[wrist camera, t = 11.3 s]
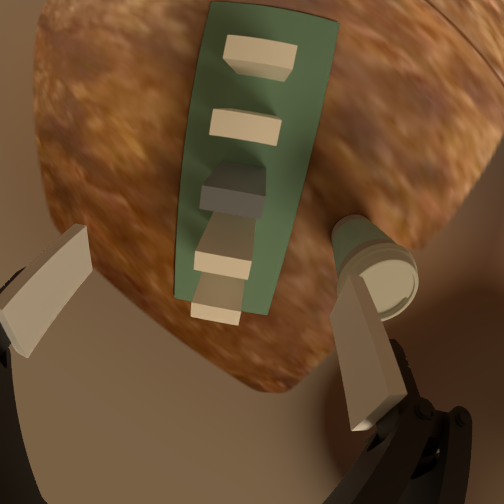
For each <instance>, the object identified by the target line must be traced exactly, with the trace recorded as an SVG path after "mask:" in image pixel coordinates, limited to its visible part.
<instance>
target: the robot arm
mask: <svg viewBox="0 0 504 504" xmlns="http://www.w3.org/2000/svg"><path fill="white" fill-rule="evenodd" d="M91 272H92V264H91V258H90V251H89V244H88V236H87V227H86V226H85V225H80V224H74V225H73V226H72V227H71V228H69V229H68V230H67V231H66V232H65V233H63V234H62V235H61V236H60V237H59V238H58V239H56V240H55V241H54V242H53V243H52V244H51V245H49V246H48V247H47V248H46V249H45V250H44V251H43V252H42V253H41V254H40V255H39V256H37V257H36V258H35V259H34V260H33V261H32V262H31V263H30V264H29V265H28V266H27V267H25V268H23V269H21V270H19V271H18V272H16V273H15V274H14V275H13V276H12V277H11V278H10V280H8V281H7V282H6V283H5V286H3V287H2V288H1V289H0V504H47V502H45V501H44V499H43V498H42V496H41V494H40V491H39V489H38V486H37V484H36V481H35V478H34V475H33V473H32V469H31V466H30V463H29V460H28V456H27V453H26V449H25V446H24V442H23V438H22V434H21V429H20V424H19V420H18V414H17V409H16V402H15V396H14V388H13V380H12V368H11V354H10V349H9V348H8V347H9V345H10V344H12V345H13V347H14V349H15V350H16V352H18V353H19V354H21V355H23V356H24V357H26V358H28V357H29V356H30V354H31V352H32V351H33V349H34V348H35V346H36V345H37V343H38V342H39V340H40V339H41V337H42V336H43V334H44V333H45V331H46V330H47V329H48V327H49V326H50V324H51V323H52V321H53V320H54V319H55V318H56V316H57V315H58V313H59V312H60V311H61V309H62V308H63V307H64V305H65V304H66V303H67V302H68V300H69V299H70V298H71V296H72V295H73V294H74V293H75V291H76V290H77V289H78V287H79V286H80V285H81V283H83V281H84V280H85V279H86V277H87V276H88V275H89V274H90V273H91ZM330 320H331V325H332V329H333V334H334V339H335V343H336V348H337V353H338V358H339V363H340V368H341V373H342V379H343V384H344V389H345V395H346V401H347V407H348V413H349V420H350V426H351V431H357V430H368V429H370V428H371V427H372V426H373V425H374V424H376V426H377V431H375V432H374V433H373V434H372V435H370V436H369V437H368V438H367V439H366V440H365V441H364V442H367V441H369V442H368V443H367V445H366V446H365V448H364V450H363V451H362V453H361V454H360V455H359V457H358V459H357V460H356V461H355V463H354V464H353V466H352V467H351V468H350V470H349V471H348V473H347V474H346V475H345V477H344V478H343V479H342V480H341V482H340V483H339V484H338V486H337V487H336V488H335V489H334V491H333V492H332V493H331V494H330V495H329V497H328V498H327V499H326V500H325V501H324V503H323V504H464V502H465V497H466V491H467V485H468V478H469V470H470V459H471V445H472V419H471V416H470V413H469V412H468V411H467V410H466V409H465V408H464V407H461V406H457V407H454V408H453V409H452V410H451V411H450V412H448V413H447V412H442V411H438V410H435V408H434V407H433V405H432V403H431V402H429V401H428V400H427V399H425V398H423V397H420V395H419V392H418V389H417V386H416V383H415V380H414V377H413V375H412V372H411V369H410V368H409V364H408V361H407V360H406V356H405V353H404V351H403V348H402V347H401V346H400V345H399V343H398V342H397V341H396V340H395V339H388V336H387V334H386V331H385V329H384V326H383V324H382V321H381V319H380V316H379V314H378V311H377V309H376V307H375V304H374V302H373V299H372V297H371V295H370V293H369V290H368V288H367V286H366V283H365V281H364V279H363V277H360V276H355V275H348V277H347V280H346V282H345V284H344V286H343V289H342V291H341V293H340V295H339V297H338V300H337V302H336V304H335V306H334V308H333V310H332V312H331V315H330ZM438 452H439V456H438Z"/></svg>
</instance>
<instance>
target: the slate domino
mask: <svg viewBox="0 0 504 504" xmlns="http://www.w3.org/2000/svg"><path fill="white" fill-rule="evenodd" d="M265 197H266V168H262V167H257V166H251V165H246V164H240V163H234V162H228V161H221V162H220V163H219V165H218V166H217V167H216V168H215V170H214V171H213V172H212V173H211V175H210V176H209V177H208V178H207V180H206V181H205V182H204V183H203V185H202V189H201V198H200V207H199V209H204V210H209V211H215V212H221V213H226V214H232V215H237V216H243V217H248V218H254V219H259V220H261V216H262V211H263V207H264V202H265Z"/></svg>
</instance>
